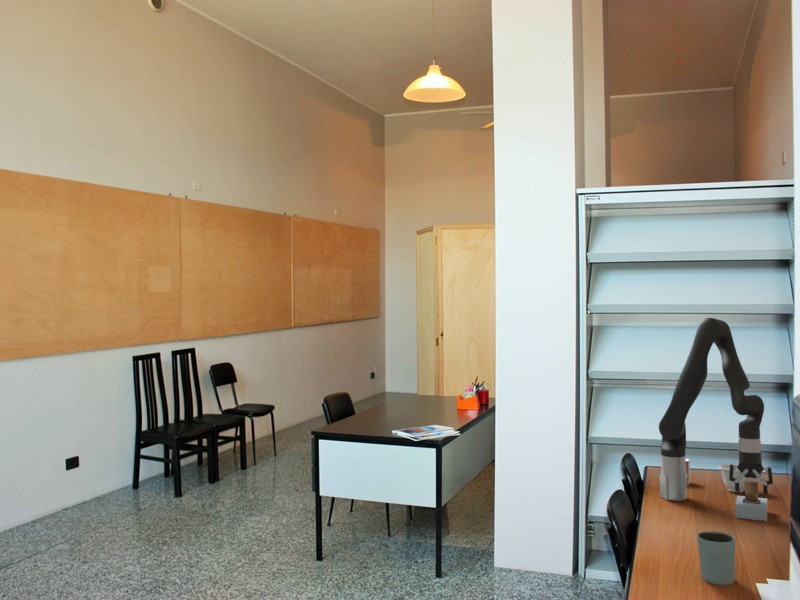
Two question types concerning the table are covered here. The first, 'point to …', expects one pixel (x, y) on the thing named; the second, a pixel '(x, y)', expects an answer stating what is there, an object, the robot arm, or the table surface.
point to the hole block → (751, 509)
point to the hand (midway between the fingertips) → (751, 494)
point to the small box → (687, 471)
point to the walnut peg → (751, 492)
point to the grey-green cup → (717, 557)
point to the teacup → (730, 484)
